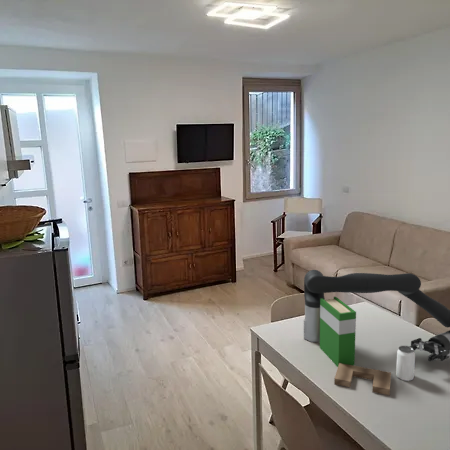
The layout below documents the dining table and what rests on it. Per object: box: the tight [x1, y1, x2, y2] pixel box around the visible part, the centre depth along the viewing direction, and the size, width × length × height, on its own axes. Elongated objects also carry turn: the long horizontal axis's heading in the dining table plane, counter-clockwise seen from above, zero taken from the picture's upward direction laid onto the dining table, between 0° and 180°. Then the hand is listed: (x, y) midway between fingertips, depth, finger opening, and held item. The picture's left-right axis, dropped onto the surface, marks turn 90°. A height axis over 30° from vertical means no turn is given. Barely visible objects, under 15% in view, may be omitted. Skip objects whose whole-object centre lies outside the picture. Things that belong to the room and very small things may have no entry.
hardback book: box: [319, 296, 357, 368], centre depth 177 cm, size 18×7×24 cm, turn 13°
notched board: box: [333, 363, 392, 396], centre depth 160 cm, size 20×12×2 cm, turn 66°
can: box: [395, 345, 416, 382], centre depth 161 cm, size 6×6×12 cm
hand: (419, 354), depth 165 cm, fingers open, 8 cm apart
